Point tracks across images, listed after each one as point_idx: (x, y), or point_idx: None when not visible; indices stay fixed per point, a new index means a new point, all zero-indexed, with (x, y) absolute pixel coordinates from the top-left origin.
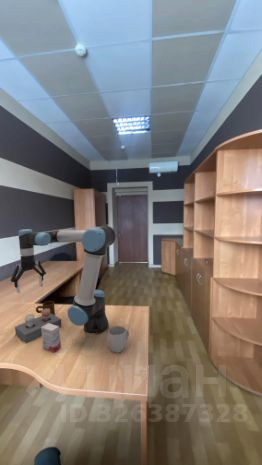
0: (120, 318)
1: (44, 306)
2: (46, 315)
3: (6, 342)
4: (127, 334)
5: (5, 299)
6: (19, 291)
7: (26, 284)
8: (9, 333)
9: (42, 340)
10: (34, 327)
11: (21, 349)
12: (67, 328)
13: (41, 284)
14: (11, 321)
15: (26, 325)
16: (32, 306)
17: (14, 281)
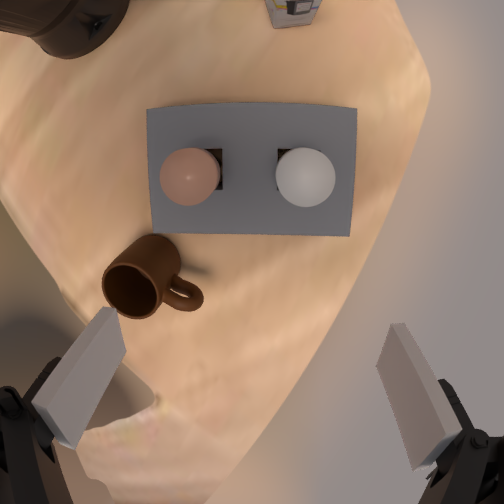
0: None
1: (157, 281)
2: (203, 149)
3: (388, 194)
4: None
5: (229, 470)
6: (400, 333)
7: (150, 487)
8: (348, 255)
9: (316, 10)
10: (291, 136)
11: (373, 89)
12: (154, 78)
13: (101, 324)
14: (292, 344)
15: None
16: (178, 389)
17: (488, 443)
